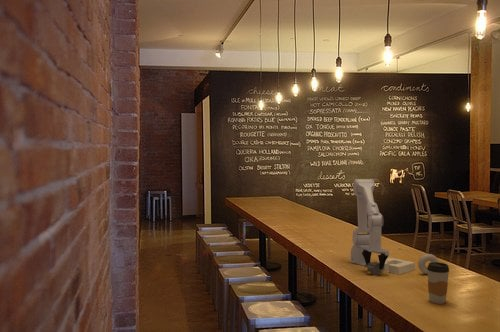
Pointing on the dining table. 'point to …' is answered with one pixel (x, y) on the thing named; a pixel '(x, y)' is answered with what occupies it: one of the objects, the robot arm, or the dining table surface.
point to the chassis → (398, 266)
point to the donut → (423, 260)
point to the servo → (373, 268)
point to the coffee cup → (437, 282)
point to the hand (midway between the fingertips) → (374, 267)
